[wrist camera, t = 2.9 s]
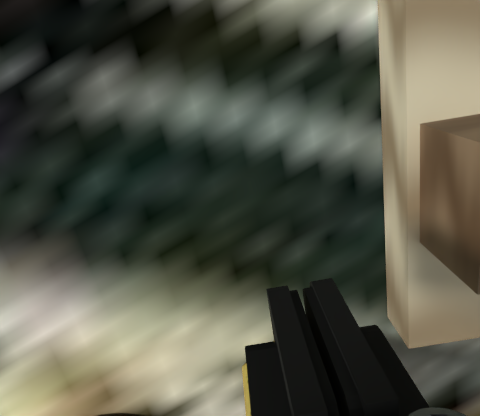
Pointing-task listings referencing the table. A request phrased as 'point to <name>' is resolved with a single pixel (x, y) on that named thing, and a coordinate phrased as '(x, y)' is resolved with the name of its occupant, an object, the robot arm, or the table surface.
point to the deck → (408, 156)
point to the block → (452, 195)
